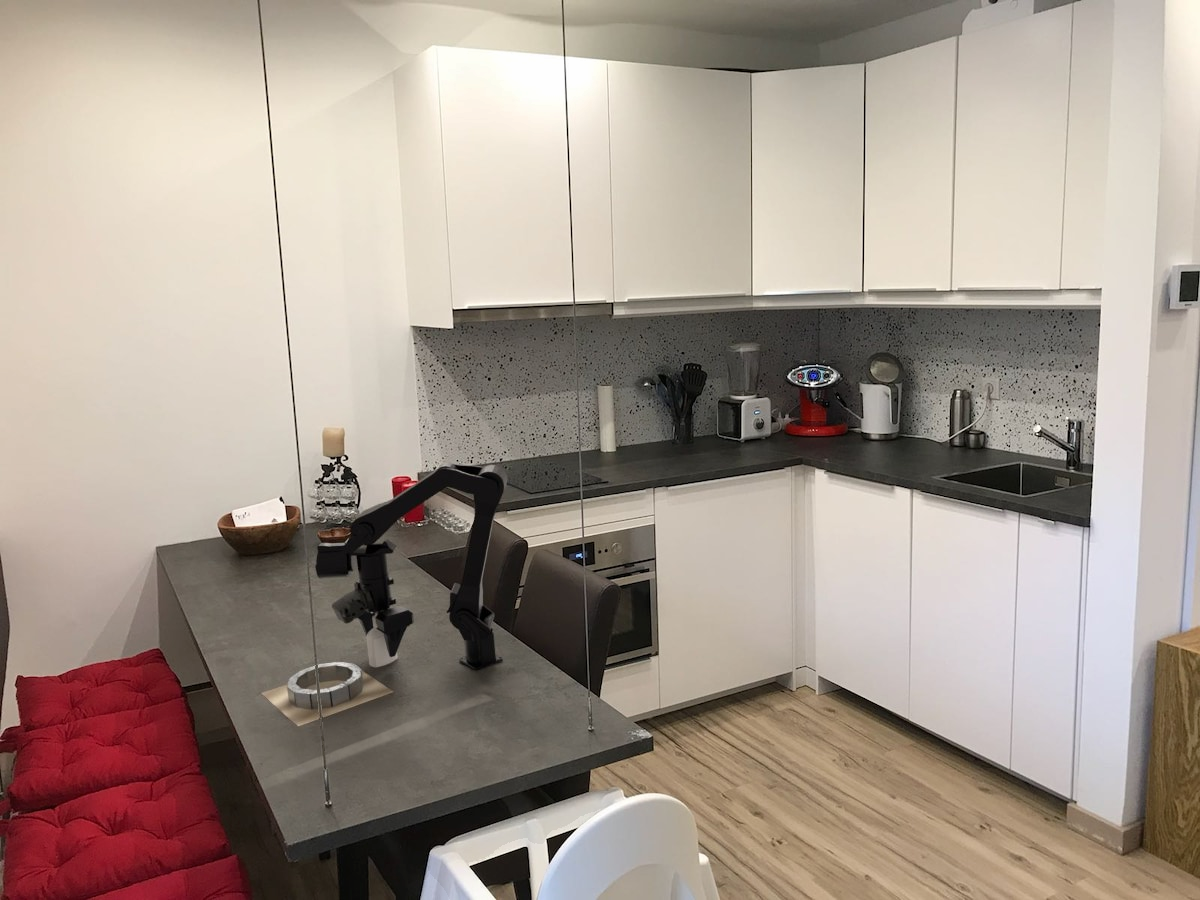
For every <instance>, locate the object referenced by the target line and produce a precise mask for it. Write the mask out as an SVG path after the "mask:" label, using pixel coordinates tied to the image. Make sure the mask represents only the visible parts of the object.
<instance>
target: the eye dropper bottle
mask: <svg viewBox="0 0 1200 900" xmlns="http://www.w3.org/2000/svg"><path fill="white" fill-rule="evenodd" d="M377 615H378V614H375V615H374V616H373V617H372V619H373V627H374V628H373V629H371V630H370V631H369V632H368V634H367V637H366V647H367V655H368V664H369V666H370V667H372V668H379V667H383V666H386V665H389V664H392V663H393V662H395V661H396V660H397V659H398V658H399V657H398V652H397V653H396V655H395V656H394V657H390V656H389V653H388V650H387V646H386V642H385V638H384V634H383V633H382V632H380V631H379V630H377V629H376V628H377V627H378V626H377V624H376V619H375V618H376V616H377Z"/></svg>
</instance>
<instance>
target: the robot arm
mask: <svg viewBox="0 0 1200 900" xmlns="http://www.w3.org/2000/svg"><path fill="white" fill-rule="evenodd" d="M507 483H508V474H507V473H506V472H505V470H504V469H503V467H500V466H498V465H496V464H489V465H485V466H479V465H471V464H470V465H469V464H458V463H453V462H451V461H450V462H449V461H448V462H447V461H446V462H444V463H441V464H440V465H439V467H438V468H436V469H435V470H434V471H432V472H430V473H429V474H428V475H426V476H425V477H423V478H421V479H420V480H418V481H417V482H415V483H414V484H412V485H411V486H410V487H408V488H407V489H405V490H404V491H402V492H401V493H399V494H397V495H395V497H393V498H392V499H389V500H387V501H383V502H381V503H377V504H376V505H374V506H372V507H369V508H367V509H364V510H362V511H361V512H360V513H359V515H358V516H356V517H355V519H354V520H353V521H352V523H351V524H350V529H349V530H350V531H349V532H350V536H349V537H348V538H347V540H345V542H337V543H335V542H334V543H329V542H320V543H319V545H317V553H316V561H315V562H316V563H315V565H314V567H315V572H316V576H317V578H318V579H322V580H323V579H337V578H339V579H340V578H350V577H351V575H352V572H356V570H357V572H358V573H357V574H358V580H355V583H354V590H352V591H350V592H348V593H346V594H345V595H343V596H341V597H340V598H339V599H337V600H336V601H335V602H333V603H331V609H332V611H334V613H335V616H336V617H337V619H338V620H339V621H341V622H343V623H344V624H350V623H351V622H353V621H354V620H355V619H358V621H359V623H360V625H361V627H362V629H363V630H362V631H363V632H364V634H365V636H366V638H367V634H368V632H369V631H370V630H371V629H373V628H374V627H373V619H372V617H373V616H374V615H375V614H378V615H377V616H376V618H375V619H376V624H377V626H378V627H377V628H376V629H377V630H379V631H380V632H382V633H383V634H384V638H385V642H386V646H387V650H388V653H389V656H390V657H394V656H395V655H396V653H397V654H398V650H399V647H400V644H401V642H402V640H403V637H404V635H405V633H406V630H407V628H408V627H410V626H411V625H413V624H414V623H415V620H414V612H412V611H410V610H409V609H408V608H406V607H403V606H401V605H398V606H395V607H392V608H391V606H394V605H396V604H397V600H396V598H395V597H393V596H392V589H391V585H394V584H395V580H394V578H392V577H390V571H389V563H388V562H389V561H388V555H389V554H391V555H392V554H393V553H394V552H395V551H396V549H397V547H398V545H397V544H395V543H393V542H392V541H390V539H389V538H385V539H384V541H383V542H378V540H379V539H380V538H382V536H383V535H385V533H386V532H387V531H389V530H390V528H392V526H394V525H395V523H396V522H397V521H399V520H400V519H401V518H402V517H404V516H405V515H407V514H408V513H409V512H411V511H413V510H414V509H416V508H417V507H419V506H420V505H422V504H424V503H425V502H426V501H428V500H430V499H431V498H432V497H434V496H435V495H437V494H438V493H439V492H441V491H442V490H444V489H446V488H450V489H455V490H457V491H459V492H462V493H465V494H470V495H473V509H474V518H473V521H472V527H471V534H470V538H469V543H468V549H467V553H466V559H465V564H464V570H463V576H462V580H461V583H457V582H454V583H453V586H452V588H451V590H450V595H449V605H448V607H447V609H446V614H449V622H450V623H451V625H452V627H454V628H455V629H457V630H458V632H459V633H460V635H461V637H462V639H463V643H464V653H465V656H461V657H459V659H458V661H459V662H460V663H462V664H464V665H465V666H468V667H470V668H471V669H473V670H476V671H477V670H480V669H482V668H485V667H488V666H490V665H493V664H497V663H499V662H501V661H504V658H503V656H501V655H499V654H497V652H496V644H495V633H494V629H493V628H492V624H493V621H494V619H495V612H493V611H492V610H491V609H490V608H488V607H487V606H486V605H485V604H484V597H483V596H484V589H483V576H484V572H485V571H484V570H485V566H486V561H487V556H488V550H489V545H490V539H491V535H492V531H493V530H492V529H493V525H494V519H495V514H496V512H497V509H498V507H499V504H500V502H501V500H502V496H503V494H504V491H505V489H506V487H507ZM376 542H378V543H376ZM362 546H366V547H362Z"/></svg>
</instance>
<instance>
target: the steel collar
mask: <svg viewBox="0 0 1200 900" xmlns="http://www.w3.org/2000/svg"><path fill="white" fill-rule="evenodd" d="M317 665H318V673H319V682H320V683H321V682H326V681H334V680H340V681H346V682H344V683H343V684H340V685H337V686H334V687H331V688H327V689H320V698H321V705H322V708H330V707H334V706H337V705H340V704H343V703H345V702H348V701H350V700H352V699H353V698H355V697H356V696H357V695H359V694H360V693H361V692H362V689H363V677H362V671H363V670H362V668H361V667H359V666H358V665H356V664H355V663H352V662H342V661H333V662H328V663H327V662H326V663H320V664H317ZM315 666H316V665H313V666H310V667H307V668H303V669H301V670H300V671H297V673H295V674H293V675H292V676H291V677H289V678H288V682H287V684H286V685H287V691H288V698H289V702H290V703H291V704H293V705H294V706H295V707H297V708H303V709H310V710H312V709H313V710H314V709H318V701H317V690H309V689H306V688H308V687H309V686H312V685H315V684H316V676H315Z"/></svg>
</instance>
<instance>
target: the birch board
mask: <svg viewBox="0 0 1200 900" xmlns="http://www.w3.org/2000/svg"><path fill="white" fill-rule="evenodd" d="M362 677H363V689H362V692H361V693H360V694H359V695H357V696H356V697H355V698H353V699H352V700H350V701H348V702H345V703H343V704H340V705H337V706H334V707H330V708H322V713H323V718H326V717H329V716H331V715H335V714H337V713H340V712H342V711H345V710H349V709H350V708H353V707H356V706H358V705H361V704H364V703H367V702H370V701H372V700H375V699H378V698H381V697H384V696H387V695H389V694H392V693H394V691H393V690H391V689H390V688H388V687H387V686H386V685H384V684H383V683H381V682H380V681H378V680H376V679H375V678H374V677H372V676H371V675H369V674H368V673H366V672H365V671H364V670H362ZM344 682H346V681H340V680H334V681H326V682H321V683H320V689H327V688H331V687H334V686H337V685H340V684H343V683H344ZM306 689H309V690H316V684H315V685H312V686H309V687H308V688H306ZM261 695H262V696H263V697H264V698H266V700H268V701H269V702H270V703H271V704H272V705H273V706H274V707H275V708H277V709H278V710H279V711H280V712H281V713H282V714H283V715H284V716H285V717H287V718H288V719H289V720H290V721H292V722H293V724H294V725H295V726H297V727H301V726H304V725H307V724H309V723H312V722H315V721H317V720H320V719H319V712H318V709H314V710H313V709H312V710H310V709H303V708H297V707H295V706H294V705H293V704H291V703H290V702H289V698H288V691H287V684H284V685H281V686H279V687H276V688H273V689H269V690H266V691H264V692H261Z"/></svg>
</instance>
